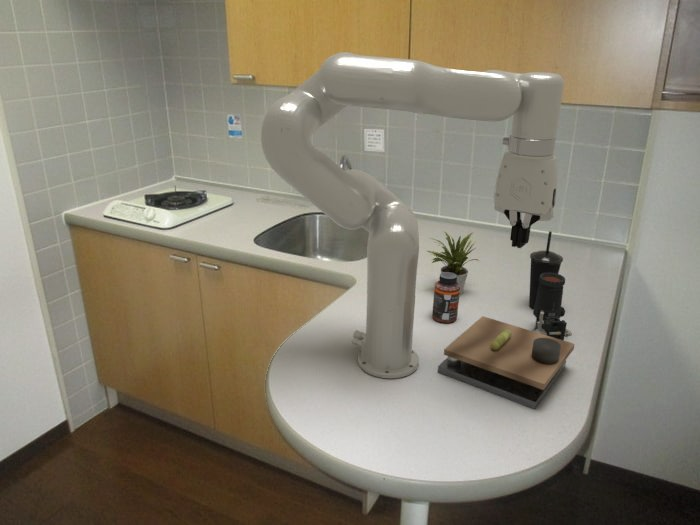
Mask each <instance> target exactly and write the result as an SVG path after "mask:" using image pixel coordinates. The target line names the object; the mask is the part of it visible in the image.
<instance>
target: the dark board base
mask: <svg viewBox="0 0 700 525" xmlns="http://www.w3.org/2000/svg"><path fill="white" fill-rule="evenodd" d="M446 357H447V358H445V359H444V360H443V361H442V362H440V364H438V366H437V373H438V374H441V375H442V376H443V375H444V376H446V377H448V378H452V379H455V380H457V381H460V382H463V383H465V384H467V385H469V386H472V387H475V388H478V389H480V390H483V391H486V392H488V393H491V394H494V395H497V396H498V397H502V398H504V399H507V400H510V401H512V402H514V403H517V404H520V405H522V406H525V407H527V408H530V409H532V410H533V409H534V410H535V409H536V408H537V406H538V405H539V404H540V403H541V401H542V400H543V399H544V397H545V396H546V394H547V393H548V392H549V390H550V389H551V387H552V386H553V384H555V382H556V381H557V379H558V377H559V376H560V375H561V374H562V373H563V370H564V369H565V368H566V365H567V359H566V360H565V362H564V363H563V364H562V366H561V367H560V368H559V370H558V371H557V372H556V374H555V375H554V376H553V378H552V379H551V381H550V382H549V383H548V385H547V386H546V387H545V389H544V390H542V389H539V388H536V387H534V386H531V385H528V384H525V383H522V382H520V381H517V380H514V379H511V378H508V377H505V376H503V375H500V374H497V373H494V372H491V371H489V370H486V369H483V368H480V367H477V366H474V365H472V364H469V363H466V362H463V361H460V360H458V359H455V358H452V357H449V356H446Z"/></svg>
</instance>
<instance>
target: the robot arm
mask: <svg viewBox="0 0 700 525" xmlns="http://www.w3.org/2000/svg"><path fill="white" fill-rule="evenodd" d="M564 82H565V81H564V78H563V77H562V76H561V75H560V74H558V73H553V72H542V71H541V72H540V71H538V72H536V71H534V72H533V71H532V72H525V73H518V72H510V71H505V70H499V69H488V70H485V71H473V70H465V69H464V70H463V69H455V68H449V67H448V68H447V67H442V66H438V65H433V64H430V63H428V62H425V61H421V60H416V59H409V58H399V57H398V58H396V57H386V56H385V57H384V56H374V55H373V56H372V55H363V54H355V53H353V52H350V51H349V52H347V51H343V52H338V53H334V54H332V55H331V56H329V57H328V58H326V59H325V60H324V61H323V62H322V64H321V66H320V68H319V69H318V70H317V71H315V73H313V74H312V75H311V76H310V77H308V78H307V79H306V80H305V81H303V83H301V84H300V85H299V86H298V87H296V88H295V89H293V91H291V92H290V93H288V94H287V95H285V96H283V97H281V98H279V99H278V100H276V101H275V102H274V103H272V104H271V105H270V107H269V108H268V109H267V111H266V113H265V115H264V117H263V121H262V124H261V131H260V142H261V149H262V151H263V155H264V158H265V159H266V162H267V163H268V164H269V166H270V167H271V169H272V170H273V172H275V173H276V174H277V175H278V177H280V178H281V179H282V180H283V181H285V182H286V183H287V184H288V185H289V186H291V187H292V188H293V189H294V190H296V191H297V192H298V193H299V194H300V195H302V196H303V197H304V198H305V199H307V201H308V202H310V203H311V205H313V206H314V207H316V208H317V209H318V210H319V211H321V213H323V214H325V215H326V216H327V217H328V218H329V219H330V220H331V221H332V222H334V223H335V224H336V225H337V226H339V227H341V228H343V229H347V230H359V229H361V228H363V229H364V230H365V231H366V232H368V239H367V246H366V247H367V248H366V253H367V254H366V255H367V256H366V258H367V260H366V261H367V264H366V266H367V269H366V270H367V271H366V272H367V274H366V276H367V277H366V279H367V281H366V316H365V317H366V318H365V319H366V320H365V321H366V322H365V332H364V331H361V330H359V329H357V330H355V331H354V332H353V335H352V339H351V344H353V345H355V346H358V347H360V350H359V352H358V354H357V362H358V366H359V368H360V369H361V370H363V371H364V372H365V373H367V374H369V375H371V376H374V377H378V378H383V379H399V378H405V377H406V376H410V375H411V374H413V373H414V372H415V371H417V369H418V367H419V362H420V359H419V356H418V354H417V353H416V351H415V350H414V349H413V340H414V339H413V337H414V323H415V321H414V319H415V309H416V308H415V306H416V286H417V275H418V274H417V272H418V262H419V255H420V253H419V252H420V233H419V223H418V219H417V216H416V215H415V213H414V212H413V210H412V209H411V208H410V207H409V206H408V205H407V204H406V203H404V201H402V200H401V199H400V198H399V197H398V196H396V195H395V194H394V193H393V192H392V191H391V190H389V189H388V188H387V187H386V186H385V185H383V184H382V183H381V182H380V181H379V180H377V178H375V177H374V176H372V175H371V174H369V173H368V172H365V171H363V170H360V169H353V168H352V169H347V170H345V169H343V168H342V167H341V166H339V165H338V163H336V162H335V161H334V160H332V158H331V157H329V156H328V154H327V155H326V154H325V153H323V152H322V151H320V150H319V149H317V148H316V147H315V146H314V144H313V143H312V141H311V136H312V135H313V134H314V133H315V132H317V130H318V129H320V128H321V127H323V125H325V124H326V123H328V121H330V120H331V119H332V118H333V117H335V116H336V115H338V114H339V113H340V112H341V111H342V110H343V109H345V108H346V107H347V106H349V107H359V108H369V109H370V108H371V109H381V110H383V109H384V110H391V111H400V112H401V111H402V112H407V113H413V114H420V115H421V114H423V115H431V116H432V115H433V116H437V117H442V118H443V117H445V118H450V119H451V118H452V119H460V120H469V121H477V122H478V121H481V122H491V123H492V122H493V123H495V122H501V121H504V120H507V119H509V118H511V117H512V122H511V123H512V124H511V132H510V133H511V134H510V135H509V136H508V137H507V136H504V137H503V138H502V145H503V146H507V150H508V151H505V152H504V153H503V155H502V158H501V161H500V165H499V168H498V173H497V177H496V182H495V186H494V194H493V204H494V207H493V209H494V210H495V211H496V212H498V213H501V214H504V216H505V217H506V218H507V220H508V221H509V224H510V225H511V230H510V231H511V232H510V241H511V247H512V248H518V249H521V248H523V247H524V246H526V245H527V244H528V243H529V240H530V235H531V234H530V233H531V228H532V226H533V225H534V224H535V223H537V222H544V221H545V222H548V221H552V220H553V218H554V208H555V205H556V199H557V190H558V157H557V156H556V155H555V147H556V140H557V139H556V138H557V133H558V127H559V120H560V119H559V118H560V113H561V105H562V100H563V93H564V85H565V83H564ZM522 213H523V214H524V217H523V220H522Z"/></svg>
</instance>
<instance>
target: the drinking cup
mask: <svg viewBox="0 0 700 525" xmlns="http://www.w3.org/2000/svg"><path fill="white" fill-rule="evenodd" d="M551 240H552V231H548V236H547V241H546V248H545V250H537V251H532V252H531V253H530V255H529V257H530V258H529V259H530V272H529V274H530V275H529V297H528V298H529V299H528V300H529V301H528V307H529V308H530V309H531V310H533V311H534V304H535V302H536V297H537V292H538V287H539V283H540V281H539V277H540V275H541V274H542V273H556V274H559V272H560V268H561V264H562V263H563V262H564V258H563V256H562V255H560V254H558V253H556V252H553V251H551V250H550V247H551Z"/></svg>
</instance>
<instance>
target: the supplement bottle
mask: <svg viewBox="0 0 700 525" xmlns="http://www.w3.org/2000/svg"><path fill="white" fill-rule="evenodd" d="M438 278H439V279H438V280H437V281H436V282H435V284H434V291H433V303H432V318H433V320H435V321H437V322H439V323H443V324H449V323H453V322H455V321H456V320H457V318H458V312H459V310H458V309H459V300H460V295H459V294H460V285H459V284H458V283H457V275H456V274H454V273H451V272H443V273H441V272H440V274H439V277H438Z"/></svg>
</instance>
